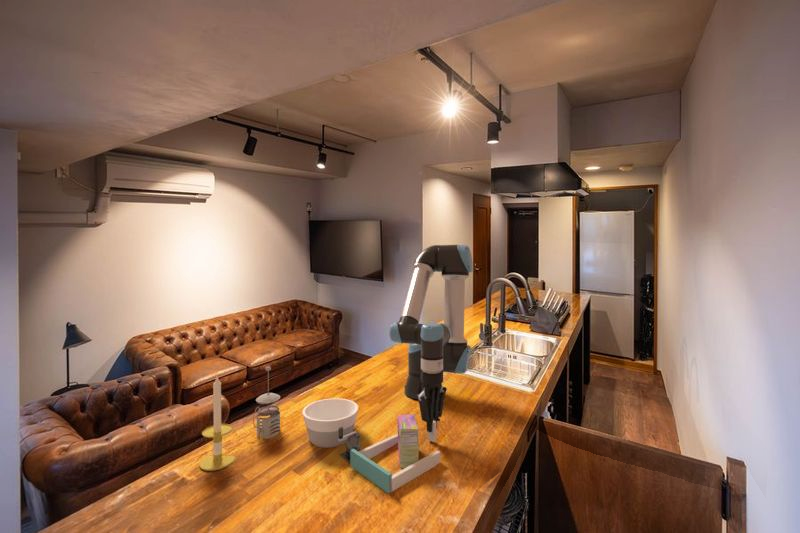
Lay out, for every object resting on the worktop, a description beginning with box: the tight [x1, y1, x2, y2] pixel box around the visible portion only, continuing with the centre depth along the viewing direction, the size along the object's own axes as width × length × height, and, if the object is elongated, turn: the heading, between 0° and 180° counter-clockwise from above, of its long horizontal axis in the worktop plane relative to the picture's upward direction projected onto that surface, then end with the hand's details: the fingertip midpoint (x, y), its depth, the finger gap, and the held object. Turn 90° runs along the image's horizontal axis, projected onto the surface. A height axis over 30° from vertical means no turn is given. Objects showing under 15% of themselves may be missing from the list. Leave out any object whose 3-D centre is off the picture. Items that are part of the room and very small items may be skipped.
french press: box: [252, 365, 281, 440], centre depth 126 cm, size 10×12×25 cm
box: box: [396, 414, 420, 469], centre depth 113 cm, size 10×6×12 cm, turn 5°
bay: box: [349, 433, 441, 495], centre depth 109 cm, size 17×21×5 cm
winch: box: [338, 427, 361, 464], centre depth 113 cm, size 6×8×11 cm
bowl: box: [301, 397, 360, 448], centre depth 125 cm, size 19×19×11 cm
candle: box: [199, 376, 236, 472], centre depth 111 cm, size 10×10×27 cm
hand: (431, 439), depth 121 cm, fingers closed
